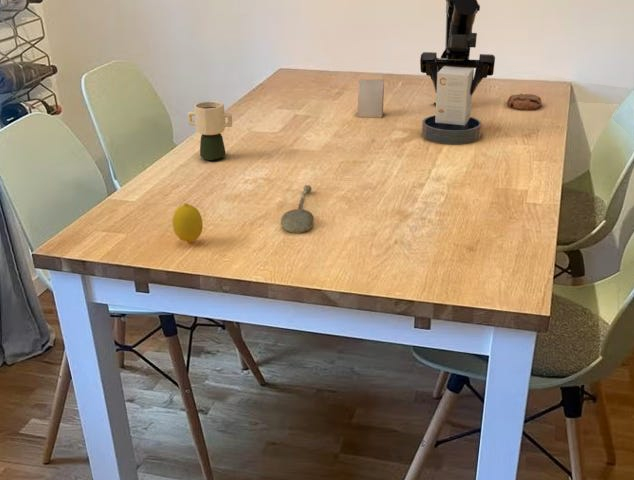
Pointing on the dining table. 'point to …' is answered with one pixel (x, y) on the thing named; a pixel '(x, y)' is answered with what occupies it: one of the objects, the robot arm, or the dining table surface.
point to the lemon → (187, 223)
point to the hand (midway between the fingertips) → (453, 93)
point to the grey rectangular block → (370, 98)
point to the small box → (454, 95)
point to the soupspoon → (298, 217)
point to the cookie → (524, 101)
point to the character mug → (210, 128)
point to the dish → (451, 131)
